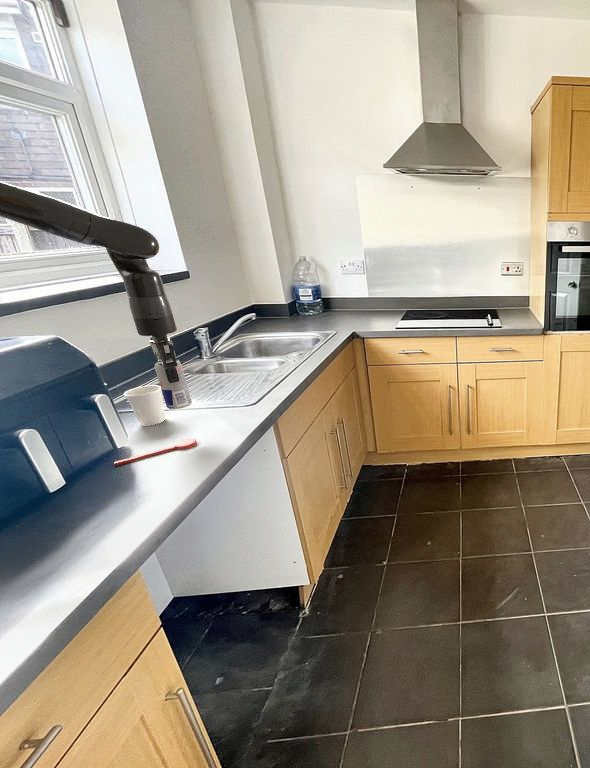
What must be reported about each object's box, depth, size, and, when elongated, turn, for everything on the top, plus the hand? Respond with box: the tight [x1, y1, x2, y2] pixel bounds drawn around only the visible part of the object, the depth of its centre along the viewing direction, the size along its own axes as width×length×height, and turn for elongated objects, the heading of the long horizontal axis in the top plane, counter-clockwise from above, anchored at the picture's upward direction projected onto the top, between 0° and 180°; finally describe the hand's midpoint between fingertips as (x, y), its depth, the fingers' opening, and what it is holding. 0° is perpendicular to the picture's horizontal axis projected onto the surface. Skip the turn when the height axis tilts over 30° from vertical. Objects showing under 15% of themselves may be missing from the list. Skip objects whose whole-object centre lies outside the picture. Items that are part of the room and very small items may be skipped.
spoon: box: [113, 438, 198, 467], centre depth 103 cm, size 16×4×1 cm, turn 136°
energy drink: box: [154, 359, 193, 410], centre depth 108 cm, size 5×5×12 cm
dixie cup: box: [123, 384, 166, 427], centre depth 119 cm, size 8×8×10 cm
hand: (171, 379), depth 107 cm, fingers closed on energy drink, 5 cm apart
